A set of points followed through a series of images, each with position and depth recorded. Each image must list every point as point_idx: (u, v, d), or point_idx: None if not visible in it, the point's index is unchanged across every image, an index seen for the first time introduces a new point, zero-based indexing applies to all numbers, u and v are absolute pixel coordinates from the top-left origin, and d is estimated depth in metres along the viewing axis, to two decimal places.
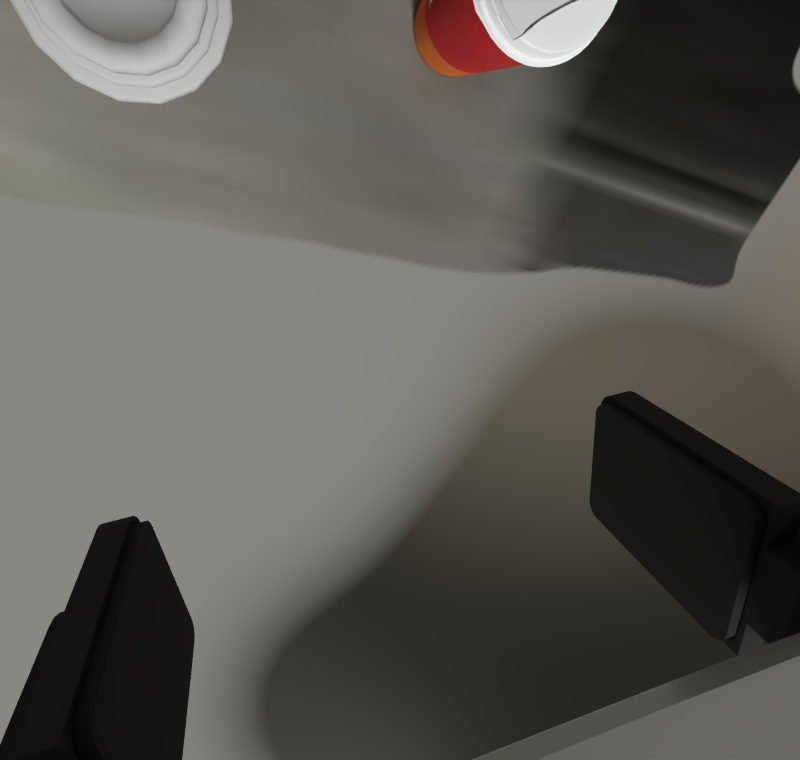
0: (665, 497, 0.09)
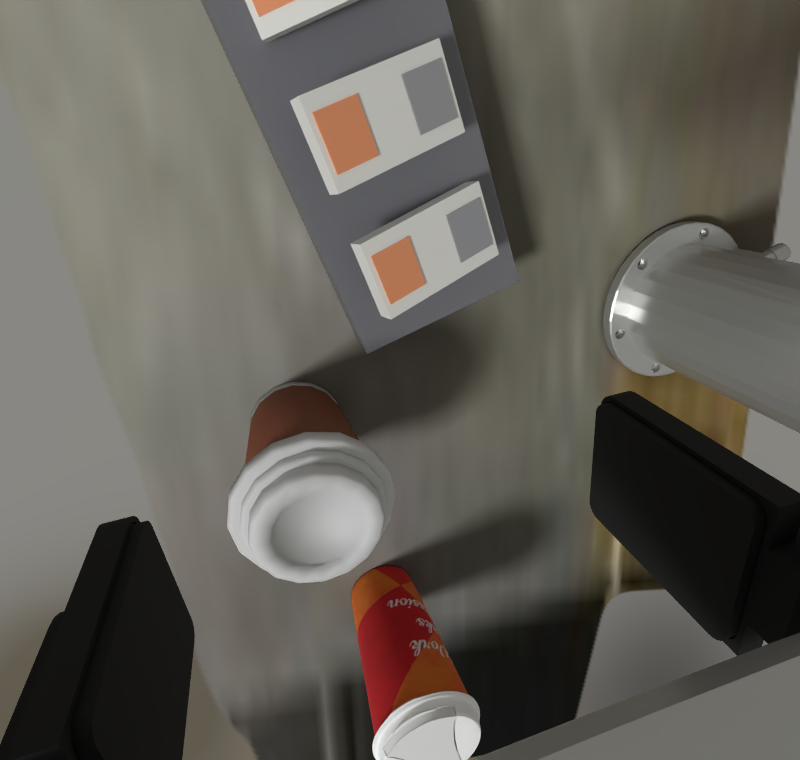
0: (665, 497, 0.09)
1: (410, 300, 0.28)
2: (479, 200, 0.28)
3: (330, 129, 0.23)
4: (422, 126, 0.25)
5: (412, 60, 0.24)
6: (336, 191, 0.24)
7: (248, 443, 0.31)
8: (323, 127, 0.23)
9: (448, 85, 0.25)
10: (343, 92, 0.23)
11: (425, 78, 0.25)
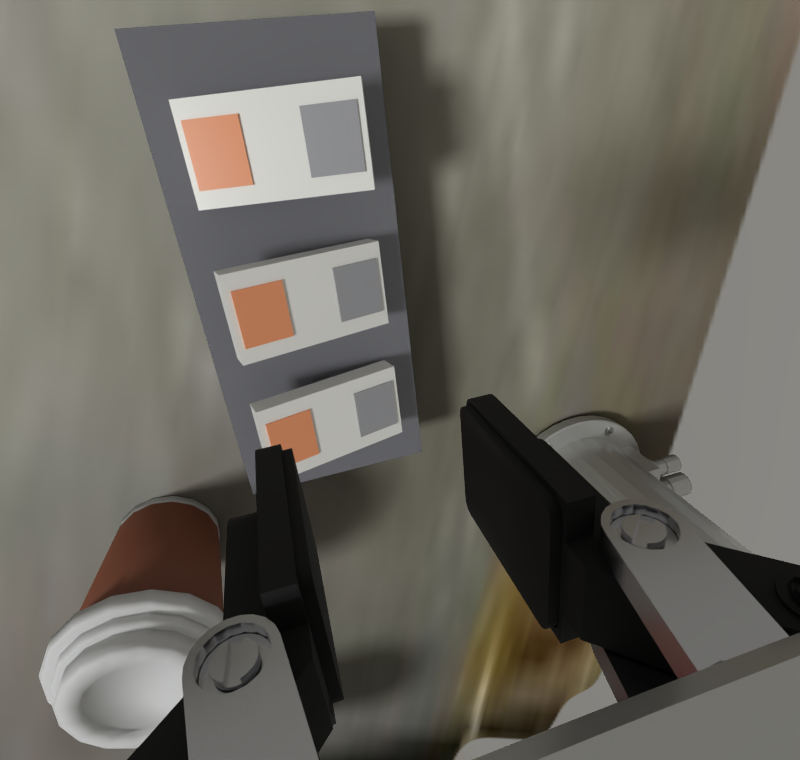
0: (503, 494, 0.10)
1: (299, 467, 0.27)
2: (391, 383, 0.29)
3: (246, 308, 0.23)
4: (344, 314, 0.26)
5: (346, 257, 0.25)
6: (241, 362, 0.24)
7: None
8: (239, 306, 0.23)
9: (379, 282, 0.26)
10: (268, 277, 0.23)
11: (356, 274, 0.25)
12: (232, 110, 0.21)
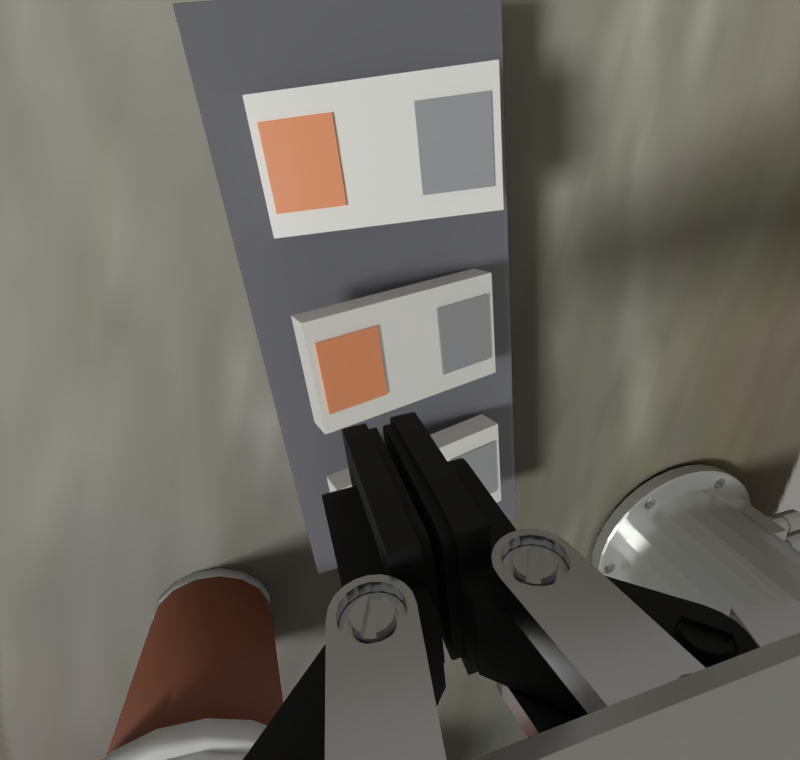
0: None
1: None
2: (493, 444, 0.23)
3: (332, 363, 0.18)
4: (447, 365, 0.20)
5: (454, 293, 0.19)
6: (323, 429, 0.19)
7: (138, 663, 0.24)
8: (324, 361, 0.18)
9: (489, 323, 0.21)
10: (360, 322, 0.18)
11: (464, 315, 0.20)
12: (325, 108, 0.16)
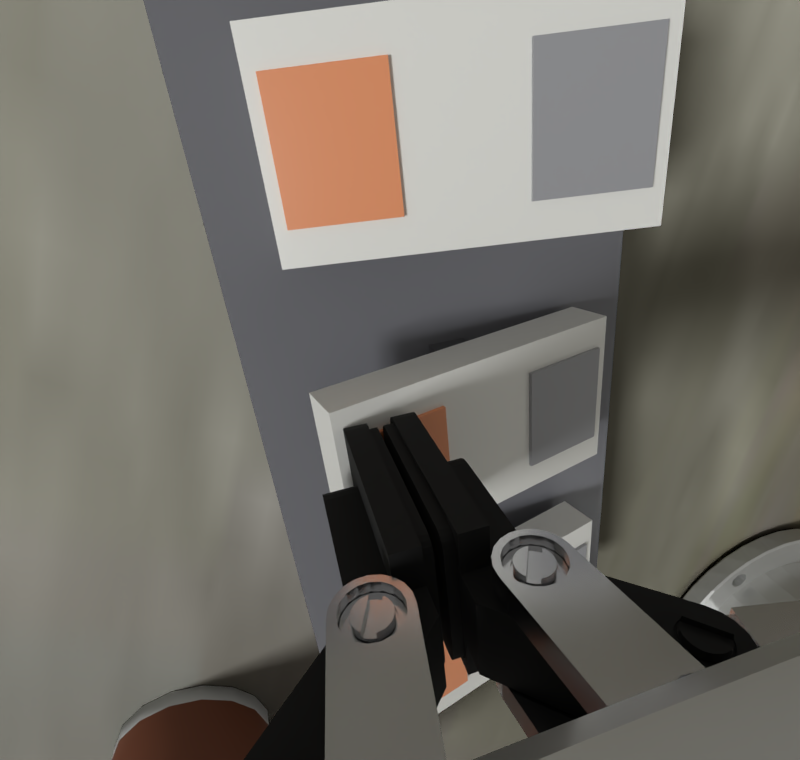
0: None
1: None
2: (583, 547, 0.17)
3: None
4: (538, 452, 0.14)
5: (555, 350, 0.13)
6: None
7: None
8: None
9: (596, 388, 0.14)
10: (421, 404, 0.11)
11: (566, 380, 0.13)
12: (376, 47, 0.09)
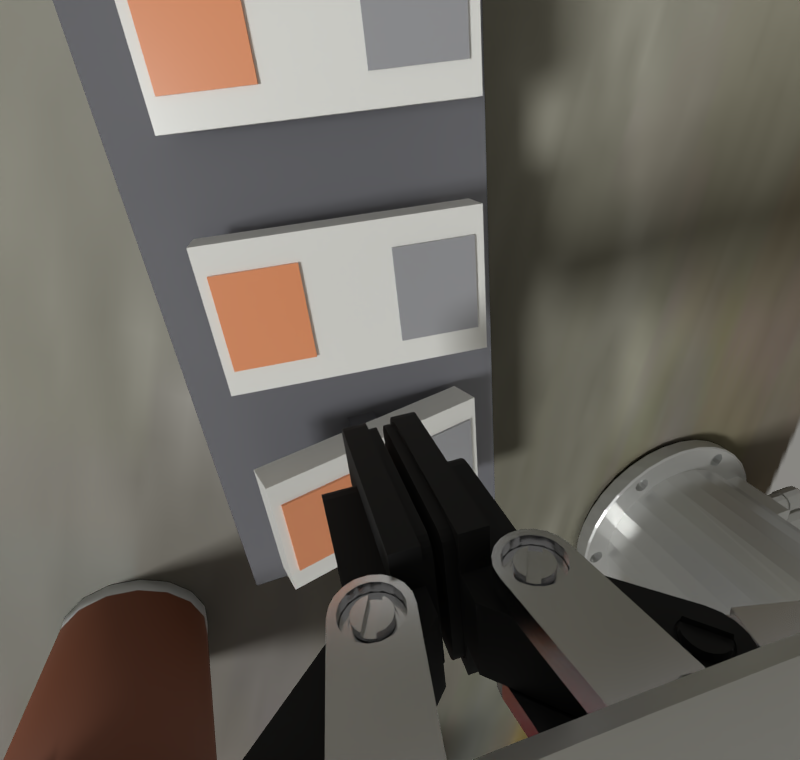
0: None
1: (333, 560, 0.17)
2: (468, 423, 0.19)
3: (234, 306, 0.14)
4: (409, 328, 0.15)
5: (420, 229, 0.14)
6: (230, 389, 0.15)
7: (26, 709, 0.19)
8: (222, 302, 0.14)
9: (476, 277, 0.15)
10: (274, 256, 0.13)
11: (435, 261, 0.14)
12: None
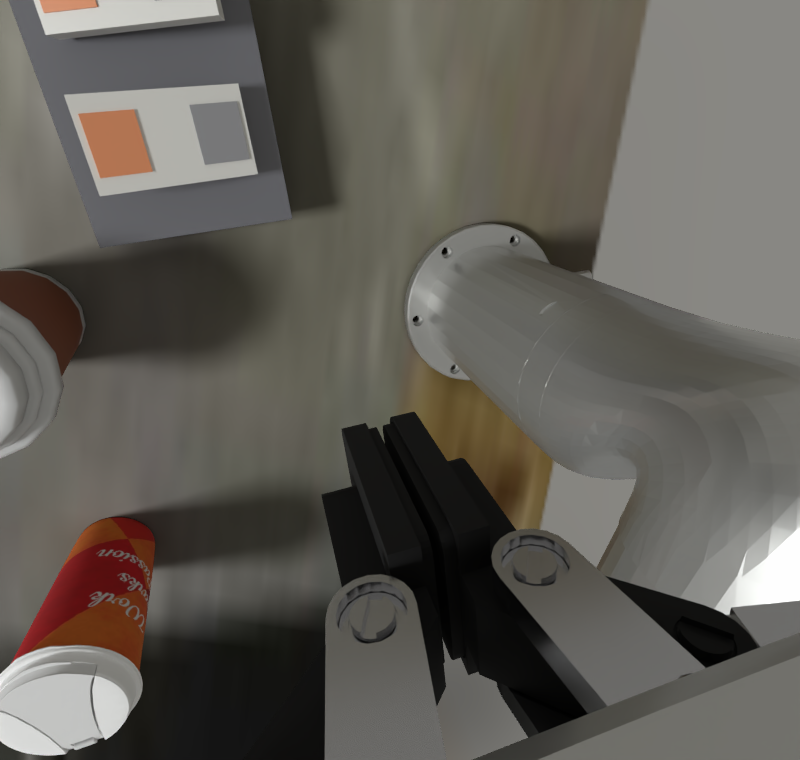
0: None
1: (130, 183, 0.25)
2: (236, 105, 0.26)
3: None
4: None
5: None
6: (46, 32, 0.23)
7: None
8: None
9: None
10: None
11: None
12: None
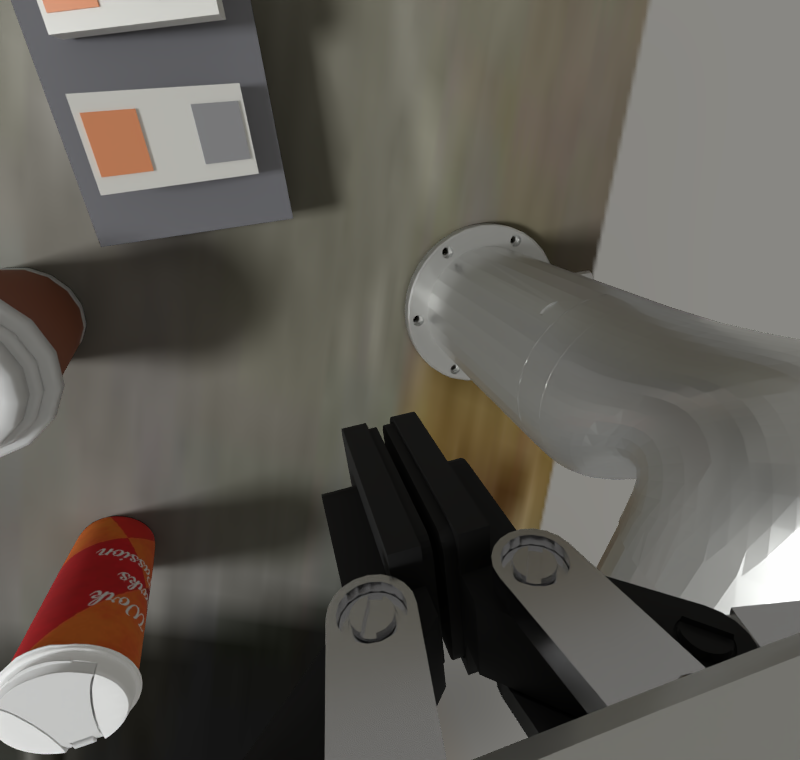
0: None
1: (131, 182, 0.25)
2: (238, 105, 0.26)
3: None
4: None
5: None
6: None
7: None
8: None
9: None
10: None
11: None
12: None
